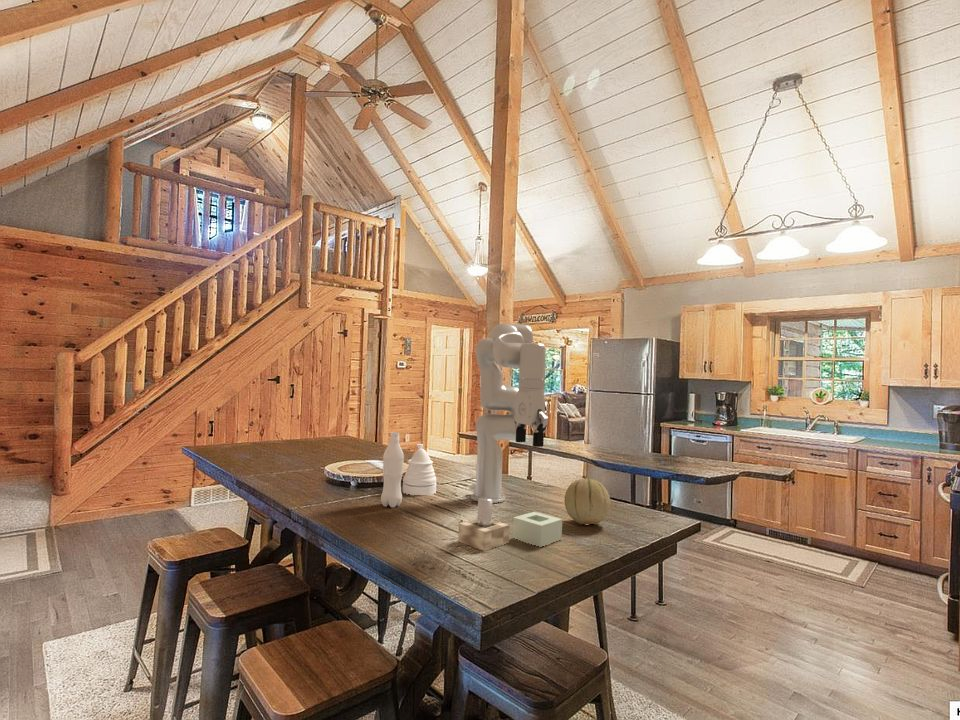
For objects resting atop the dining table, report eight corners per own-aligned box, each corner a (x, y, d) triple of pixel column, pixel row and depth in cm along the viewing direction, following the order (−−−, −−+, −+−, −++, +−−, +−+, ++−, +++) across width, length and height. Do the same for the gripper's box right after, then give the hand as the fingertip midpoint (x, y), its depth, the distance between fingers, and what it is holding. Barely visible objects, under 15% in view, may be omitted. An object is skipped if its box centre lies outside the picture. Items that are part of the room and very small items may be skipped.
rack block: (512, 538, 147) (513, 517, 147) (533, 531, 154) (534, 511, 155) (540, 547, 140) (541, 525, 140) (561, 540, 148) (562, 519, 148)
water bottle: (377, 507, 174) (380, 432, 174) (385, 502, 181) (389, 430, 181) (396, 509, 172) (400, 434, 173) (404, 504, 179) (408, 432, 180)
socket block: (458, 541, 142) (458, 523, 143) (482, 534, 150) (483, 516, 150) (484, 551, 136) (485, 532, 136) (508, 543, 143) (509, 525, 143)
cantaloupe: (586, 533, 155) (588, 483, 155) (553, 520, 167) (555, 474, 167) (619, 527, 163) (621, 480, 163) (586, 515, 175) (588, 471, 176)
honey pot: (398, 488, 202) (400, 443, 202) (429, 487, 207) (431, 442, 208) (408, 496, 190) (410, 447, 190) (440, 494, 195) (443, 447, 196)
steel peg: (473, 541, 143) (475, 498, 143) (483, 539, 146) (485, 496, 146) (483, 545, 140) (485, 501, 140) (493, 542, 143) (495, 499, 143)
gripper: (505, 384, 156) (503, 440, 155) (536, 385, 140) (533, 448, 140) (527, 384, 159) (524, 440, 159) (559, 386, 144) (556, 448, 143)
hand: (529, 444), depth 149 cm, fingers open, 9 cm apart
